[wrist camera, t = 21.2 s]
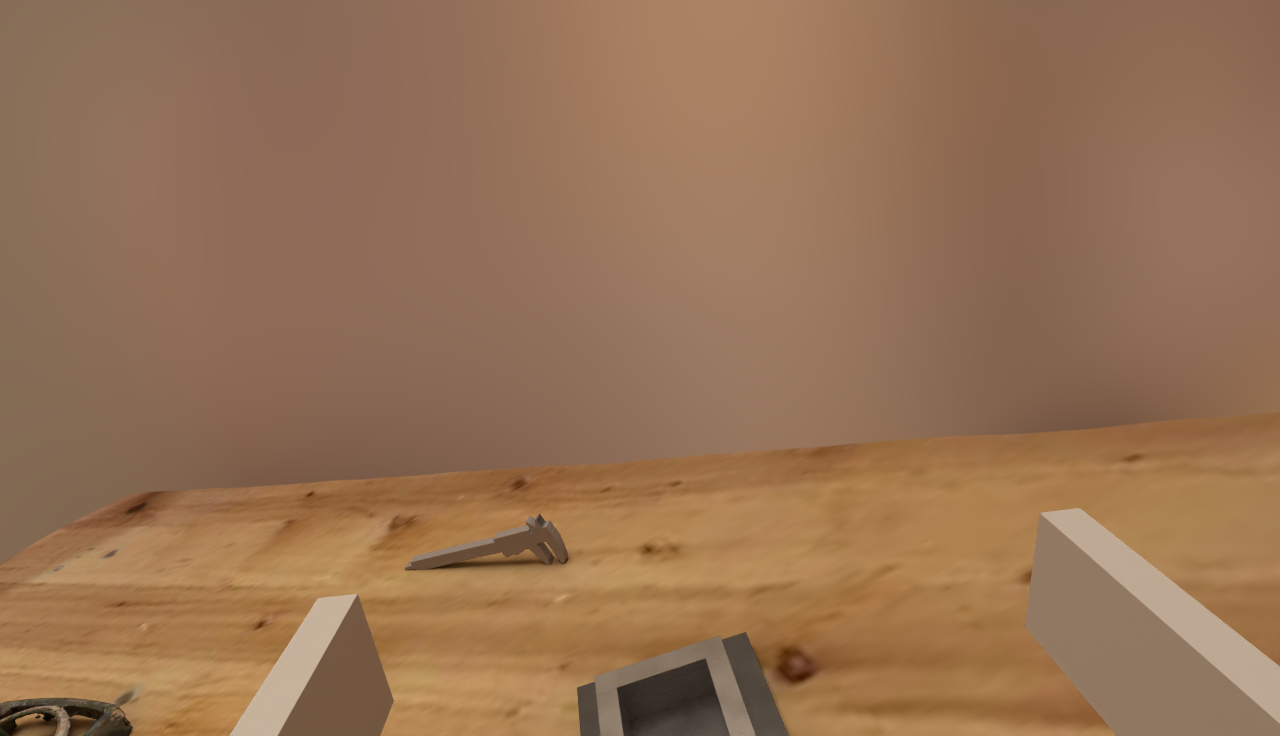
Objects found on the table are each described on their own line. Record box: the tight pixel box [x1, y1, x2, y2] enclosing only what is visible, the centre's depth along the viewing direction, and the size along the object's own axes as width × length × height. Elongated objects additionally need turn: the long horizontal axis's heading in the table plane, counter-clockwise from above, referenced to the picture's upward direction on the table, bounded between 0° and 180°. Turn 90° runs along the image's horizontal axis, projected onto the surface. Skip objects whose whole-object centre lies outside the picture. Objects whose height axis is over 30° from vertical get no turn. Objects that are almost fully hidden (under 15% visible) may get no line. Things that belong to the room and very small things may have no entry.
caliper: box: [405, 513, 568, 570], centre depth 67 cm, size 20×1×6 cm, turn 77°
